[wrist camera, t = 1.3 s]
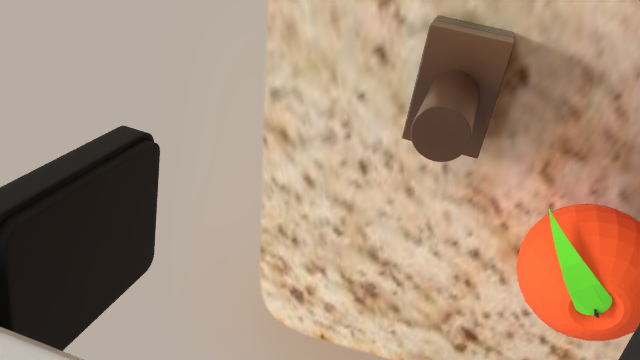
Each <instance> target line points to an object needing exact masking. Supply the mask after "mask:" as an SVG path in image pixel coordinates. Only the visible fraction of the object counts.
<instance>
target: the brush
mask: <svg viewBox="0 0 640 360" xmlns="http://www.w3.org/2000/svg"><path fill="white" fill-rule="evenodd" d="M513 47H514V32H511V31H506V30H502V29H497V28H492V27H488V26H483V25H479V24H474V23H470V22H465V21H461V20H456V19H452V18H447V17H443V16H437V17H436V18H435V20H434V21H433V22H432V23H431V25H430V27H429V31H428V35H427V39H426V43H425V47H424V51H423V55H422V59H421V63H420V67H419V71H418V75H417V79H416V83H415V87H414V91H413V95H412V99H411V103H410V108H409V112H408V116H407V120H406V124H405V128H404V132H403V136H402V138H403V139H406V140H410V141H412V143H413V145H414V147H415V148H416V150H417V151H418V152H419V153H420V154H421V155H422V156H424V157H426V158H427V159H430V160H433V161H438V162H446V161H450V160H453V159H456V158H457V157H459V156H460V155H466V156H470V157H473V158H478V156H479V152H480V149H481V146H482V143H483V140H484V137H485V134H486V131H487V128H488V124H489V121H490V118H491V115H492V112H493V109H494V106H495V103H496V100H497V97H498V93H499V90H500V87H501V84H502V81H503V78H504V75H505V72H506V69H507V66H508V62H509V59H510V56H511V53H512V50H513Z"/></svg>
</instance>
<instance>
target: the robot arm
mask: <svg viewBox="0 0 640 360" xmlns="http://www.w3.org/2000/svg"><path fill="white" fill-rule="evenodd" d="M159 156H160V148H159V145H158V144H157V143H154V140H153V137H152V135H151V134H149V133H146V132H143V131H139V130H136V129H133V128H130V127H126V126H120V127H118V128H116V129H114V130H112V131H110V132H108V133H106V134H104V135H102V136H100V137H98V138H96V139H94V140H92V141H91V142H88V143H86V144H85V145H83V146H81V147H79V148H77V149H75V150H73V151H71V152H69V153H67V154H65V155H63V156H61V157H59V158H57V159H55V160H53V161H51V162H49V163H47V164H45V165H43V166H41V167H39V168H37V169H35V170H33V171H32V172H30V173H28V174H26V175H24V176H22V177H20V178H18V179H16V180H14V181H12V182H10V183H8V184H6V185H4V186H2V187H0V360H83V359H80V358H78V357H76V356H73V355H71V354H68V353H65V352H63V350H64V349H65V348H66V347H67V346H68V345H69V344H70V343H71V342H72V341H73V340H74V339H75V338H77V337H78V336H79V335H80V334H81V333H82V332H83V331H84V330H85V329H86V328H87V327H88V326H89V325H90V324H91V323H92V322H93V321H94V320H96V319H97V318H98V317H99V316H100V315H101V314H102V313H103V312H104V311H105V310H106V309H107V308H108V307H109V306H110V305H111V304H112V303H113V302H115V301H116V300H117V299H118V298H119V297H120V296H121V295H122V294H123V293H124V292H125V291H126V290H127V289H128V288H129V287H130V286H131V285H132V284H134V283H135V282H136V281H137V280H138V279H139V278H140V277H141V276H142V275H143V274H144V273H145V272H146V271H147V270H148V268H149V267H150V265H151V263H152V260H153V257H154V246H155V228H156V211H157V192H158V176H159ZM619 360H640V324H639V325H638V327H637V329H636V331H635V332H634V334H633V336H632V337H631V339H630V341H629V343H628V344H627V346H626V348H625V350H624V351H623V353H622V355H621V356H620V358H619Z"/></svg>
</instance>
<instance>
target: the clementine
mask: <svg viewBox="0 0 640 360" xmlns="http://www.w3.org/2000/svg"><path fill="white" fill-rule="evenodd" d="M517 276H518V282H519V286H520V289H521V291H522V294H523V296H524V298H525V301H526V302H527V304H528V305H529V306H530V307H531V309H532V310H533V311H534V312H535V314H536V315H537V316H538V317H539V318H540V319H541V320H542V321H543V322H544V323H546V324H547V325H548V326H550V327H551V328H552V329H554V330H556V331H558V332H560V333H563V334H565V335H567V336H570V337H574V338H579V339H583V340H589V341H605V340H611V339H617V338H620V337H622V336H625V335H627V334H630V333H632V332H635V331H636V329H637V327H638V325H639V324H640V223H639V222H637V221H636V220H635V219H633V218H632V217H631V216H629V215H627V214H625V213H622V212H620V211H617V210H615V209H613V208H609V207H605V206H599V205H593V204H581V205H572V206H568V207H564V208H560V209H558V210H556V211H554V212H552V213H551V211H550V209H549V214H548V215H547V216H545V217H543V218H542V219H541V220H540V221H539V222H538V223H537V224H535V225H534V226H533V227H532V228H531V229H530V230H529V232H528V233H527V235H526V237H525V238H524V240H523V242H522V244H521V248H520V252H519V256H518V260H517Z"/></svg>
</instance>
